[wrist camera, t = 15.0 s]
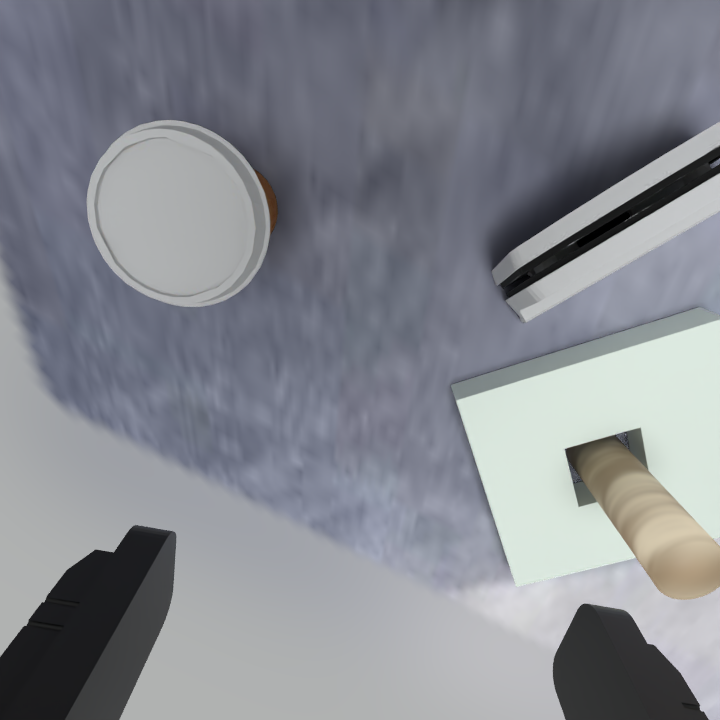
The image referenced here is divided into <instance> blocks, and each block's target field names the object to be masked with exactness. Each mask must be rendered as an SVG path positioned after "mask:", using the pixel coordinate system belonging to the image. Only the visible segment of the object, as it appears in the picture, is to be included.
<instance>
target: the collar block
mask: <svg viewBox="0 0 720 720" xmlns="http://www.w3.org/2000/svg"><path fill="white" fill-rule="evenodd" d="M451 388H452V391H453V394H454V397H455V400H456V404H457V407H458V410H459V413H460V416H461V419H462V422H463V425H464V428H465V431H466V434H467V438H468V441H469V444H470V447H471V450H472V453H473V456H474V459H475V462H476V465H477V469H478V472H479V475H480V478H481V481H482V484H483V487H484V490H485V493H486V496H487V500H488V503H489V506H490V509H491V512H492V515H493V518H494V521H495V524H496V527H497V531H498V534H499V537H500V540H501V543H502V546H503V549H504V552H505V555H506V558H507V561H508V564H509V567H510V570H511V573H512V576H513V579H514V582H515V585H516V587H519V586H523V585H527V584H531V583H535V582H539V581H543V580H547V579H552V578H556V577H560V576H564V575H568V574H572V573H576V572H580V571H584V570H589V569H593V568H597V567H601V566H605V565H609V564H613V563H617V562H621V561H626V560H630V559H634V558H636V557H635V555H634V554H633V552H632V551H631V550H630V548H629V547H628V545H627V544H626V542H625V541H624V539H623V538H622V537H621V535H620V534H619V532H618V531H617V529H616V528H615V527H614V525H613V524H612V522H611V521H610V519H609V518H608V516H607V515H606V514H605V512H604V511H603V509H602V508H601V506H600V505H599V503H598V502H597V501H596V499H595V498H594V496H593V495H592V493H591V492H590V491H589V489H588V488H587V486H586V485H585V483H584V482H583V481H581V482H577V483H574V484H573V482H572V478H571V474H570V470H569V466H568V462H567V457H566V453H565V449H566V448H569V447H573V446H576V445H580V444H583V443H587V442H590V441H594V440H598V439H601V438H605V437H608V436H612V435H615V434H619V433H622V432H627V437H628V443H629V448H630V452H631V453H632V454H633V455H634V456H635V457H636V458H637V459H638V460H639V461H640V462H641V463H642V464H643V465H644V467H645V468H646V469H647V470H648V471H649V472H650V473H651V474H652V475H653V476H654V477H655V478H656V479H657V480H658V481H659V482H660V483H661V485H662V486H663V487H664V488H665V489H666V490H667V491H668V492H669V493H670V494H671V495H672V496H673V497H674V498H675V499H676V500H677V501H678V503H679V504H680V505H681V506H682V507H683V508H684V509H685V510H686V511H687V512H688V513H689V514H690V515H691V516H692V517H693V518H694V519H695V521H696V522H697V523H698V524H699V525H700V526H701V527H702V528H703V529H704V530H705V531H706V532H707V533H708V534H709V535H710V536H711V537H712V539H716V538H720V315H718V314H716V313H713V312H711V311H708V310H706V309H703V308H701V307H698V308H695V309H692V310H689V311H685V312H682V313H679V314H676V315H673V316H669V317H666V318H663V319H660V320H657V321H653V322H650V323H647V324H644V325H641V326H637V327H634V328H631V329H628V330H625V331H621V332H618V333H615V334H612V335H609V336H605V337H602V338H599V339H596V340H593V341H589V342H586V343H583V344H580V345H577V346H573V347H570V348H567V349H564V350H561V351H557V352H554V353H551V354H548V355H544V356H541V357H538V358H535V359H532V360H528V361H525V362H522V363H519V364H516V365H512V366H509V367H506V368H503V369H500V370H496V371H493V372H490V373H487V374H484V375H480V376H477V377H474V378H471V379H468V380H464V381H461V382H458V383H455V384H452V385H451Z"/></svg>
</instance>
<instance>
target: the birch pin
mask: <svg viewBox="0 0 720 720" xmlns="http://www.w3.org/2000/svg"><path fill="white" fill-rule="evenodd" d="M566 454H567V458H568V460H569V462H570V463H571V465H572V466H573V468H574V469H575V470H576V472H577V473H578V475H579V476H580V478H581V479H582V480H583V482H584V483H585V485H586V486H587V488H588V489H589V491H590V492H591V493H592V495H593V496H594V498H595V499H596V501H597V502H598V503H599V505H600V506H601V508H602V509H603V511H604V512H605V514H606V515H607V516H608V518H609V519H610V521H611V522H612V524H613V525H614V527H615V528H616V529H617V531H618V532H619V534H620V535H621V537H622V538H623V539H624V541H625V542H626V544H627V545H628V547H629V548H630V550H631V551H632V552H633V554H634V555H635V557H636V558H637V560H638V561H639V562H640V564H641V565H642V567H643V568H644V570H645V571H646V573H647V574H648V575H649V577H650V578H651V580H652V581H653V583H654V584H655V586H656V587H657V588H658V590H659V591H660V592H661V593H663V594H664V595H666V596H668V597H671V598H674V599H681V600H687V599H695V598H699V597H702V596H705V595H707V594H709V593H711V592H713V591H714V590H716V589H717V588H718V587H719V586H720V546H719V545H718V544H717V543H716V542H715V541H714V540H713V539H712V537H711V536H710V535H709V534H708V533H707V532H706V531H705V530H704V529H703V528H702V527H701V526H700V525H699V524H698V523H697V522H696V521H695V519H694V518H693V517H692V516H691V515H690V514H689V513H688V512H687V511H686V510H685V509H684V508H683V507H682V506H681V505H680V504H679V503H678V501H677V500H676V499H675V498H674V497H673V496H672V495H671V494H670V493H669V492H668V491H667V490H666V489H665V488H664V487H663V486H662V485H661V483H660V482H659V481H658V480H657V479H656V478H655V477H654V476H653V475H652V474H651V473H650V472H649V471H648V470H647V469H646V468H645V467H644V465H643V464H642V463H641V462H640V461H639V460H638V459H637V458H636V457H635V456H634V455H633V454H632V453H631V452H630V451H629V450H628V449H627V447H626V446H625V445H624V444H623V443H622V442H621V441H620V440H619V439H618V438H617V437H616V436H615V435H612V436H608V437H605V438H601V439H598V440H594V441H590V442H587V443H583V444H580V445H576V446H573V447H569V448H567V449H566Z"/></svg>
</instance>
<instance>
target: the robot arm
mask: <svg viewBox="0 0 720 720" xmlns="http://www.w3.org/2000/svg"><path fill="white" fill-rule="evenodd" d="M175 550H176V533H175V532H173V531H167V530H161V529H155V528H150V527H144V526H138V525H135V526H133V527H132V528H131V529H130V530H129V531H128V533H127V534H126V535H125V537H124V538H123V540H122V541H121V543H120V544H119V546H118V547H117V549H116V550H115V552H114V553H113V552H107V551H101V550H94V551H93V552H92V553H90V554H89V555H87V556H86V557H85V558H83V559H82V560H80V561H79V562H78V563H76V564H75V565H73V566H72V567H71V568H69V569H68V570H67V571H66V572H65V573H64V575H63V576H62V577H61V579H60V580H59V581H58V583H57V584H56V585H55V586H54V588H53V589H52V590H51V592H50V593H49V594H48V596H47V598H46V600H45V602H44V603H43V602H42V603H41V605H40V606H39V607H38V609H37V610H36V611H35V613H34V614H33V615H32V616H31V618H30V619H29V622H28V624H27V626H24V627H23V628H22V629H21V631H20V632H19V633H18V635H17V636H16V637H15V638H14V640H13V641H12V642H11V644H10V645H9V646H8V648H7V649H6V650H5V651H4V653H3V654H2V656H1V657H0V720H119V719H120V717H121V715H122V713H123V710H124V708H125V706H126V704H127V701H128V699H129V697H130V695H131V693H132V691H133V689H134V687H135V685H136V682H137V680H138V678H139V676H140V674H141V671H142V669H143V667H144V665H145V663H146V661H147V659H148V656H149V654H150V652H151V650H152V648H153V645H154V644H155V641H156V639H157V637H158V635H159V633H160V631H161V628H162V626H163V624H164V621H165V619H166V616H167V613H168V610H169V606H170V603H171V598H172V593H173V583H174V582H173V581H174V566H175ZM553 679H554V685H555V690H556V693H557V696H558V699H559V702H560V705H561V707H562V710H563V713H564V716H565V719H566V720H708V718H707V716H706V715H705V713H704V712H702V711H700V708H699V707H700V705H699V703H698V701H697V700H696V698H695V696H694V695H693V693H692V692H691V690H690V688H689V687H688V685H687V683H686V682H685V680H684V678H683V677H682V675H681V673H680V672H679V671H678V670H677V669H676V668H675V667H674V666H673V665H672V664H671V663H670V662H669V661H668V660H667V658H666V657H665V656H664V655H663V654H662V653H661V652H660V651H659V650H658V649H657V648H656V647H655V646H654V645H651V644H647V642H646V640H645V639H644V637H643V635H642V634H641V632H640V630H639V628H638V627H637V625H636V623H635V621H634V620H633V618H632V617H631V616H630V614H629V613H627V612H626V611H624V610H621V609H615V608H609V607H603V606H597V605H591V604H583V605H581V606H580V607H579V609H578V610H577V612H576V614H575V616H574V618H573V620H572V622H571V624H570V626H569V628H568V630H567V632H566V634H565V636H564V638H563V640H562V642H561V644H560V646H559V648H558V650H557V652H556V654H555V658H554V663H553Z"/></svg>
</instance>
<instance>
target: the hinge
mask: <svg viewBox="0 0 720 720" xmlns="http://www.w3.org/2000/svg"><path fill="white" fill-rule="evenodd" d="M719 158H720V122H719V123H717V124H715V125H713V126H712V127H710V128H708V129H706V130H705V131H703V132H701V133H700V134H698V135H696V136H695V137H693V138H691V139H689V140H688V141H686V142H684V143H683V144H681V145H679V146H678V147H676V148H674V149H673V150H671V151H669V152H668V153H666V154H664V155H663V156H661V157H659V158H658V159H656V160H654V161H653V162H651V163H650V164H648V165H646V166H645V167H643V168H641V169H640V170H638V171H636V172H635V173H633V174H632V175H630V176H628V177H627V178H625V179H623V180H622V181H620V182H619V183H617V184H615V185H614V186H612V187H610V188H609V189H607V190H606V191H604V192H602V193H601V194H599V195H598V196H596V197H595V198H593V199H591V200H590V201H588V202H587V203H585V204H583V205H582V206H580V207H579V208H577V209H576V210H574V211H572V212H571V213H569V214H568V215H566V216H565V217H563V218H561V219H560V220H558V221H557V222H555V223H554V224H552V225H550V226H549V227H547V228H546V229H544V230H543V231H541V232H540V233H538V234H537V235H535V236H534V237H532V238H530V239H529V240H527V241H526V242H524V243H523V244H521V245H520V246H518V247H517V248H515V249H514V250H512V251H511V252H510V253H508V255H507V256H506V257H505V258H504V259H503V260H502V261H501V262H500V263H499V264H498V265H497V266H496V267H495V268H494V269H493V270H492V275H493V278H494V281H495V284H496V286H498V285H499V284H501V286H502V288H505V287H506V286H508V285H510V284H511V283H513V282H515V281H516V280H518V279H520V278H521V277H523V276H524V275H529V276H531V278H529V279H527V280H526V281H524V282H523V283H521V284H520V285H518V286H517V287H515V288H514V289H512V290H511V291H509V292H508V293H506V294H507V296H508V297H509V299H507V300H506V302H507V303H508V304H509V305H510V306H511V308H512V309H513V310H514V311H515V312H516V313H517V314H518V315H519V316H520V318H519V319H520V320H521V321H522V322H523V323H527V322H528V321H530V320H532V319H534V318H535V317H537V316H539V315H541V314H542V313H544V312H546V311H547V310H549V309H551V308H553V307H554V306H556V305H558V304H560V303H561V302H563V301H565V300H567V299H568V298H570V297H572V296H574V295H575V294H577V293H579V292H581V291H582V290H584V289H586V288H587V287H589V286H591V285H593V284H594V283H596V282H598V281H600V280H601V279H603V278H605V277H607V276H608V275H610V274H612V273H614V272H615V271H617V270H619V269H621V268H622V267H624V266H626V265H627V264H629V263H631V262H633V261H634V260H636V259H638V258H640V257H641V256H643V255H645V254H647V253H648V252H650V251H652V250H654V249H655V248H657V247H659V246H661V245H662V244H664V243H666V242H667V241H669V240H671V239H673V238H674V237H676V236H678V235H680V234H681V233H683V232H685V231H687V230H688V229H690V228H692V227H694V226H695V225H697V224H699V223H701V222H702V221H704V220H706V219H707V218H709V217H711V216H713V215H714V214H716V213H718V212H720V164H719V165H718V166H716V167H714V168H713V169H711V167H710V164H712V163H713V162H715V161H716V160H718V159H719ZM626 211H627V212H628V213H629V214H630V215H631V217H630V218H629V219H627V220H625V221H624V222H622V223H620V224H619V225H617V226H615V227H614V228H612V229H610V230H609V231H607V232H605V233H604V234H602V235H600V236H599V237H597V238H595V239H594V240H592V241H590V242H589V243H587V244H585V245H584V246H582V247H580V248H579V247H578V244H577V241H578V240H580V239H581V238H583V237H585V236H586V235H588V234H590V233H591V232H593V231H595V230H596V229H598V228H600V227H601V226H603V225H605V224H606V223H608V222H610V221H611V220H613V219H615V218H616V217H618V216H620V215H621V214H623V213H625V212H626Z"/></svg>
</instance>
